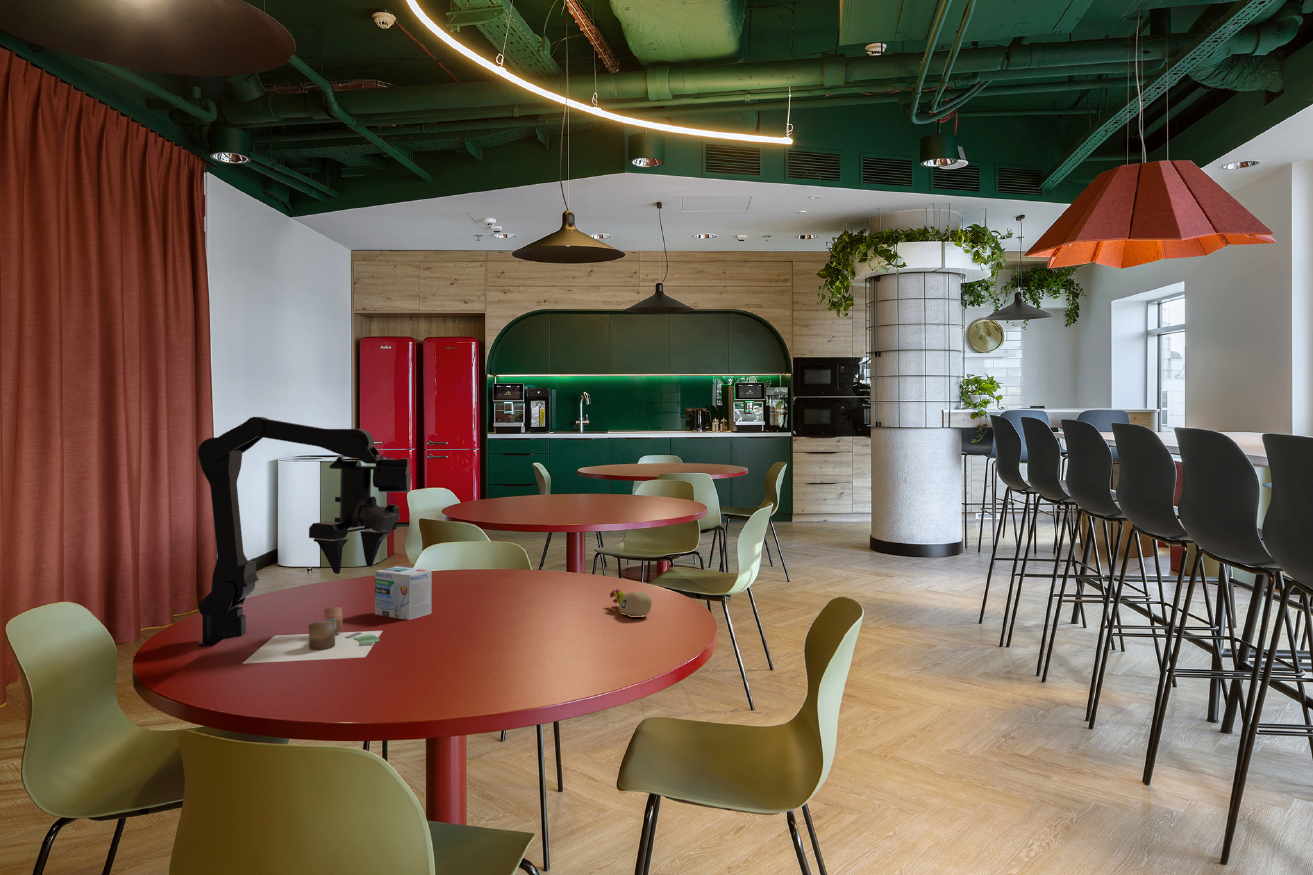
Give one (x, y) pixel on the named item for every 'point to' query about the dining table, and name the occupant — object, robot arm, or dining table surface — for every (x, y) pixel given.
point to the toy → (632, 602)
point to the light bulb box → (403, 592)
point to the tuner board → (299, 650)
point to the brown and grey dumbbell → (326, 629)
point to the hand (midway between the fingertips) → (353, 569)
